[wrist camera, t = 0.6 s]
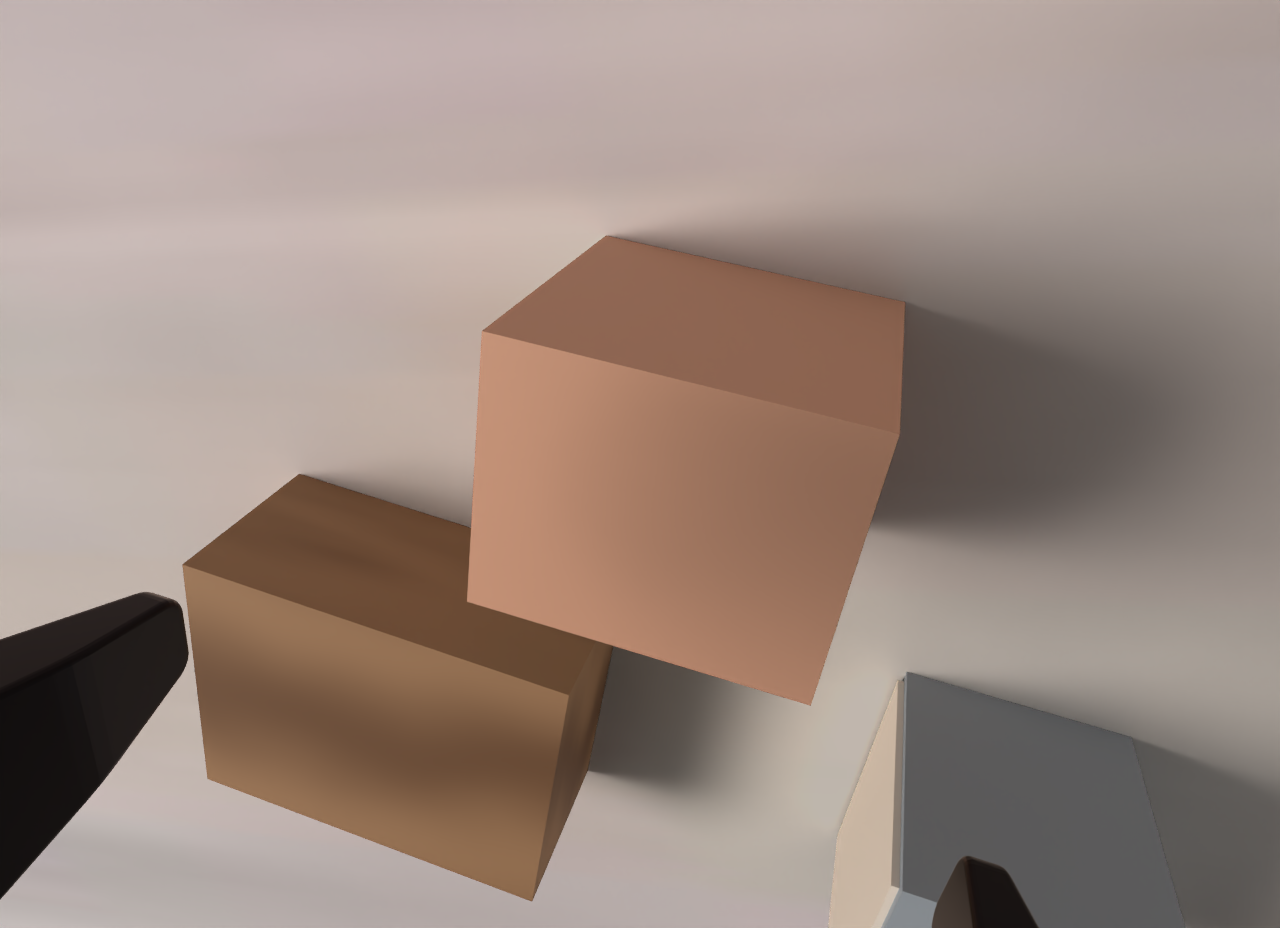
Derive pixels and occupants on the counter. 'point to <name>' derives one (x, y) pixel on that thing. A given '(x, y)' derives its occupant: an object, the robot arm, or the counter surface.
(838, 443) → the terracotta clay cube
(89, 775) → the robot arm
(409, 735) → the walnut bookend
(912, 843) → the light blue block
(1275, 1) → the counter surface
